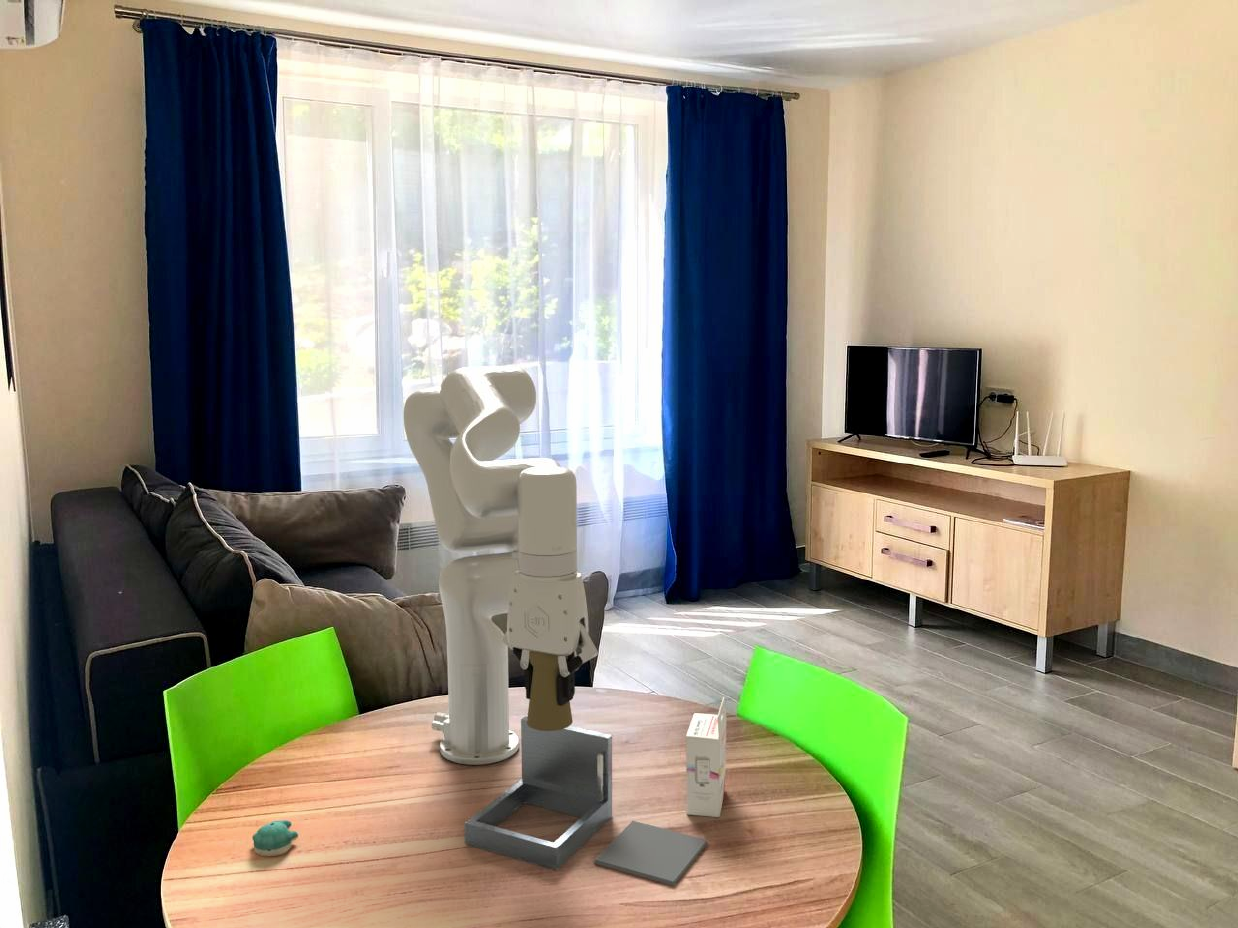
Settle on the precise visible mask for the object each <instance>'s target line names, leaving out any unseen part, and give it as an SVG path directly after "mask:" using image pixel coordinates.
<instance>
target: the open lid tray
mask: <svg viewBox="0 0 1238 928" xmlns="http://www.w3.org/2000/svg"><path fill="white" fill-rule="evenodd" d="M527 717H528V716H524V717H523V718H521V719H520V739H521V740H520V741H521V746H520V747H521V779H519V781H517V782H516V783H514V784H513V785H512V786H511V787H509V788H508V789H506V791H504V792H503V793H501V794H500V795H499V796H498V797H496V798H495V799H493V800H492V801H491V802H490V803H488V804H487V805H485V807H483V808H482V809H481V810H479V811H478V812H477V813H475V814H474V815H473V816H471V817H470V818H468V819H467V820H466V821H465V822H464V844H465V845H467V846H468V845H469V846H471V847H474V848H478V849H482V850H485V851H489V852H492V853H496V854H499V855H503V856H505V857H509V858H513V859H516V860H518V861H523V862H526V863H529V864H533V865H536V866H540V867H543V868H547V869H551V870H553V871H558V870H559V869H560V868H561V867H562V866H563V865H564V864H565V863H566V862H567V861H568V860H569V859H571V857H573V856H574V855H575V853H576V852H577V851H579V850H580V849H581V848H582V846H584V845H585V844H586V843H588V841H590V839H591V838H592V837H593V836H594V835H595V834H596V833H597V832H598V831H599V830H600V829H602V827H603V826H604V825H606V823H608V821H610V820H611V818H612V817H613V734H609V733H606V732H605V733H604V732H599V731H596V730H592V729H585V728H581V727H576V726H572V725H570V726H568V727H567V728H564V729H561V730H556V731H540V730H536V729H533V728H531V727H529V726H528V725H527ZM524 804H526V805H531V806H535V807H538V808H542V809H546V810H550V811H554V812H558V813H562V814H566V815H569V816H574V817H577V818H579V819H578V820H576V821H575V823H573V824H572V825H571V826H570V827H569V828H568V829H566V831H565V832H563V833H562V835H560V837H559V836H558V838H557V839H555V841H554V842H553V841H551V840H550V841H549V840H545V839H542V838H538V837H534V836H531V835H528V834H525V833H519V832H517V831H514V830H513V831H512V830H509V829H506V828H503V827H499V826H498V825H499V824H500V823H502V822H503V821H504V820H505V819H507V818H508V817H509V816H510V815H511V814H512V813H514V812H515V811H517V810H518V809H519V808H520V807H521V806H523V805H524Z"/></svg>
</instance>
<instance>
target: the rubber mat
mask: <svg viewBox="0 0 1238 928" xmlns="http://www.w3.org/2000/svg"><path fill="white" fill-rule="evenodd" d="M707 845H708V839H706V838H702V837H698V836H695V835H691V834H686V833H683V832H679V831H674V830H670V829H667V828H663V827H659V826H656V825H650V824H647V823H643V822H639V821H636V820H631V821H630V823H629V824H627V826H626V827H624V829H623V830H622V831H621V832H620V833H618V835H617V836H616V837H615V838H614V839H613V840H612V841H611V842H610V843H609V844H608V845H607V846H606V847H604V849H603V850H602V851H601V852H600V853H599V854H598V855H597V856H596V857H595V858H594V864H595V865H597V866H600V867H604V868H608V869H611V870H615V871H619V872H622V873H625V874H629V875H633V876H636V877H640V878H643V879H646V880H651V881H654V882H657V883H658V882H659V883H662V884H666V885H668V886H673V887H674V886H675V885H676V884H677V883H678V881H679V880H680V879H681V878H682V877H683V875H684V874H685V873H686V871H687V870H688V868H690V866H691V865H692V864H693V863H694V862H695V860H696V859H697V858H698V857H699V855H700V854H701V853H702V851H703V850H704V849H705V848H706V846H707Z"/></svg>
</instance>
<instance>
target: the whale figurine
mask: <svg viewBox="0 0 1238 928" xmlns="http://www.w3.org/2000/svg"><path fill="white" fill-rule="evenodd" d="M291 827H292V821H290V820H285V819H284V820H283V819H282V820H274V821H272V822H270V823H269V822H268V823H265V824H263V826H261V827H260V828H258V830H257V831H256V832H255V833H254V834H253V835H252V836H251V837H252V839H251V840H253V847H254V851H255V853H256V854H257V855H258V856H262V857H276V856H280V855H284V854H286V853H287V852H288V851H289V850H290V849H291V848H292V844H293V843H292V842H294V841H296V840H297V839H298V837H299V834H298V832H297V831H295V830H293V831H291V830H289V829H290V828H291Z"/></svg>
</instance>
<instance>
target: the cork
mask: <svg viewBox="0 0 1238 928" xmlns="http://www.w3.org/2000/svg"><path fill="white" fill-rule="evenodd" d="M567 657H568V656H567ZM529 659H530V663H531V664H532V666H533V675H532V685H531V694H530V699H528V701H529V702H528V710H527V716H526V717H527V725H528V726H529V727H531V728H533V729H536V730H540V731H556V730H561V729H564V728H567V727H568V726H572V724H573V715H572V707H571V700H570V701H569V702H567V703H566V704H564V705H563V706H560V705H558V703H557V690H556V678H557V676H558V675H560V669H559V663H558V656H557V655H551V654H545V653H539V652H534V651H529Z"/></svg>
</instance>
